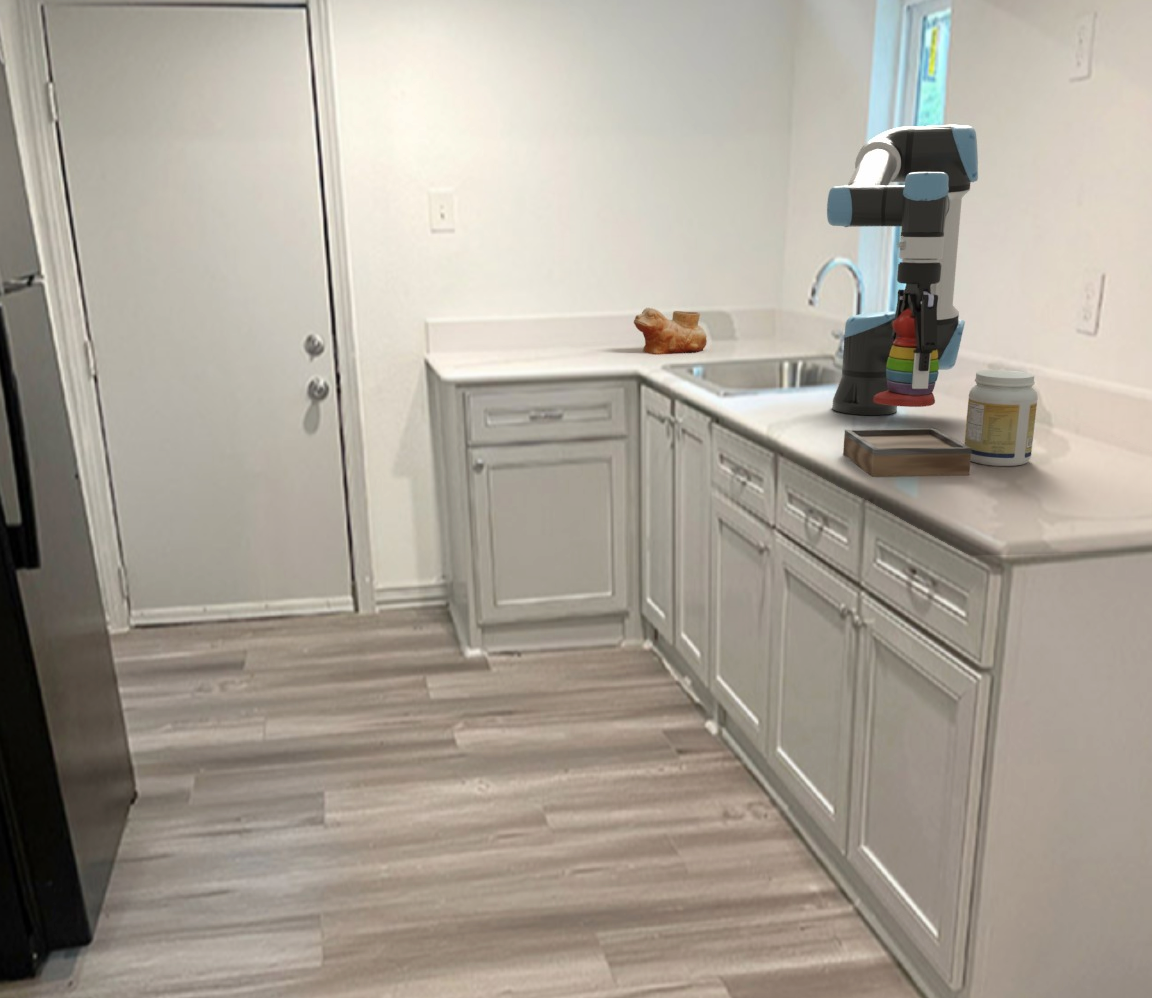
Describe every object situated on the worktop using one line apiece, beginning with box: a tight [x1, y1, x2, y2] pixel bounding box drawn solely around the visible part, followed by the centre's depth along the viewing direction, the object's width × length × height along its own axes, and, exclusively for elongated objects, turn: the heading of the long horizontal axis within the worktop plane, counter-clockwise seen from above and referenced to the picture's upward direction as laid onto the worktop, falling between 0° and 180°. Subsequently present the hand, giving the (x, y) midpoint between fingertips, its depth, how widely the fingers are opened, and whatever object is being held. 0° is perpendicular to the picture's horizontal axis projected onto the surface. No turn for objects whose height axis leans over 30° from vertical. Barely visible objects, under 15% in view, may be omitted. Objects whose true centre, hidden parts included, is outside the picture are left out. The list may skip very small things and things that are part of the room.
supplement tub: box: [963, 369, 1038, 467], centre depth 201 cm, size 12×12×17 cm
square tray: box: [842, 427, 972, 478], centre depth 199 cm, size 18×18×5 cm
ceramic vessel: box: [633, 307, 708, 356], centre depth 356 cm, size 14×26×15 cm, turn 107°
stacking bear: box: [873, 308, 939, 408], centre depth 195 cm, size 11×10×18 cm
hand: (910, 383), depth 196 cm, fingers closed on stacking bear, 9 cm apart
